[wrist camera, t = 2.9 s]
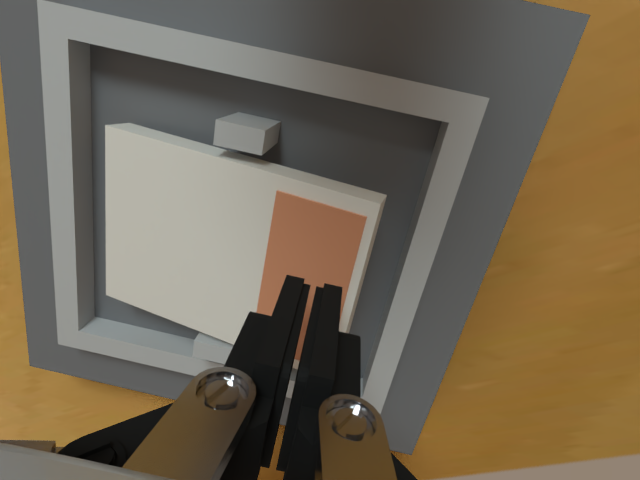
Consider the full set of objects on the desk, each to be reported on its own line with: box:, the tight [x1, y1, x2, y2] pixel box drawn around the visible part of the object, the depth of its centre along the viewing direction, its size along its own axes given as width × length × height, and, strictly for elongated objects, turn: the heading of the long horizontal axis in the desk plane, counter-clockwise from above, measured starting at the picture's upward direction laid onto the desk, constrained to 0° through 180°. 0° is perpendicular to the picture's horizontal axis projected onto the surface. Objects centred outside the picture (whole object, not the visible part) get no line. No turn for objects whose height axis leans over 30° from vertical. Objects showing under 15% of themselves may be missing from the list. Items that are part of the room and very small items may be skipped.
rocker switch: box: [105, 123, 387, 370], centre depth 15 cm, size 10×7×1 cm
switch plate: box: [0, 0, 590, 455], centre depth 17 cm, size 20×20×6 cm
